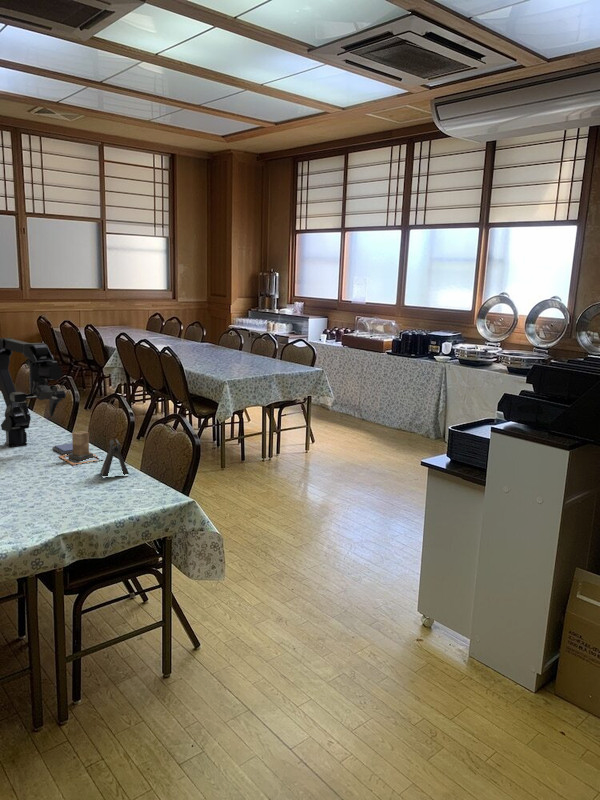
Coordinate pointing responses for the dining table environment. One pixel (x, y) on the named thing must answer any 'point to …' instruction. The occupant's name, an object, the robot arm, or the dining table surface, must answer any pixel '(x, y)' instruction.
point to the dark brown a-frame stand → (109, 458)
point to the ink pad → (64, 448)
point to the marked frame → (75, 463)
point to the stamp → (80, 446)
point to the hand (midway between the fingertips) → (39, 418)
